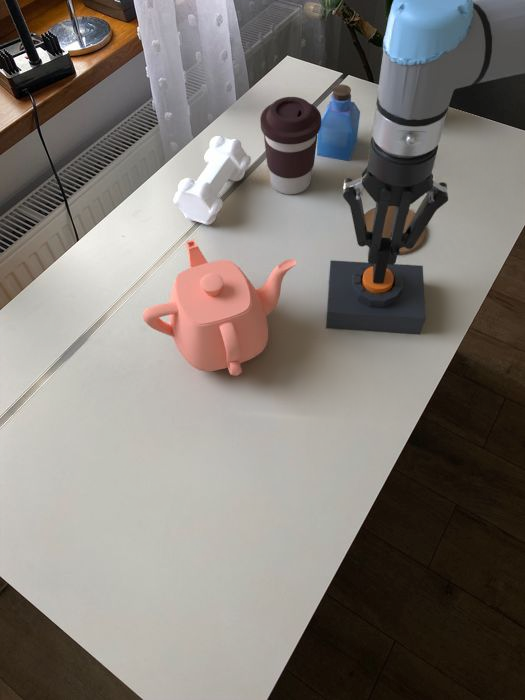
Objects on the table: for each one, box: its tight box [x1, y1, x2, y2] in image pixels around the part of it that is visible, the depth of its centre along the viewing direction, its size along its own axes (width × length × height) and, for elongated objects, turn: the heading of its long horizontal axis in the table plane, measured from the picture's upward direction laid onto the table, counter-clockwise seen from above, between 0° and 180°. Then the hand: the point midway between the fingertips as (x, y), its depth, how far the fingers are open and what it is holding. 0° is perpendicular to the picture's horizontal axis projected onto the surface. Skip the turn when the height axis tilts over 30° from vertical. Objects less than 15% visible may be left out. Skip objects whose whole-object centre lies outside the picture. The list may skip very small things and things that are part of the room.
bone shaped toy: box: [173, 135, 252, 225], centre depth 104 cm, size 15×9×8 cm, turn 156°
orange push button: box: [362, 266, 394, 294], centre depth 88 cm, size 4×4×2 cm
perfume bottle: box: [316, 84, 361, 162], centre depth 109 cm, size 6×6×12 cm
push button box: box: [325, 259, 426, 336], centre depth 90 cm, size 14×10×6 cm
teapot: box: [142, 239, 297, 376], centre depth 85 cm, size 16×17×14 cm
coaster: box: [364, 206, 427, 256], centre depth 101 cm, size 11×11×1 cm
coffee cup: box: [259, 96, 322, 195], centre depth 103 cm, size 10×10×15 cm
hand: (378, 275), depth 87 cm, fingers closed
